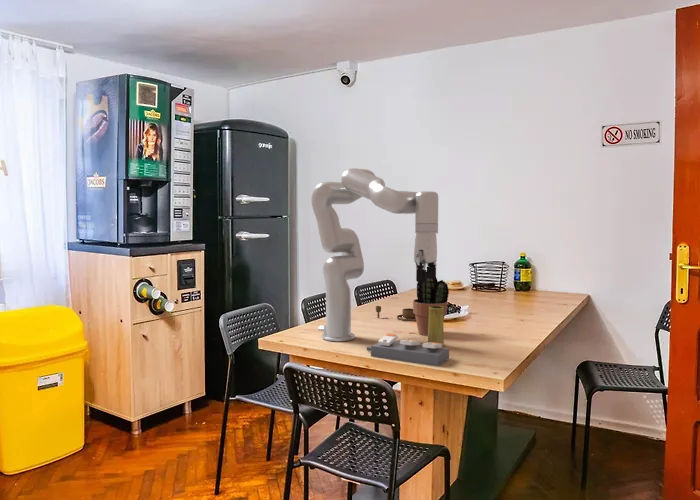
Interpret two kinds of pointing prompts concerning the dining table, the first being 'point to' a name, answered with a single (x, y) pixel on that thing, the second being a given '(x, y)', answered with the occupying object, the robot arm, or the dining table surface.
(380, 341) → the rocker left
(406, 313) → the place setting
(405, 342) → the rocker mid
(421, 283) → the potted plant
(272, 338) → the dining table surface
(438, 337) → the vase
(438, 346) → the rocker right
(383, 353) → the power strip
